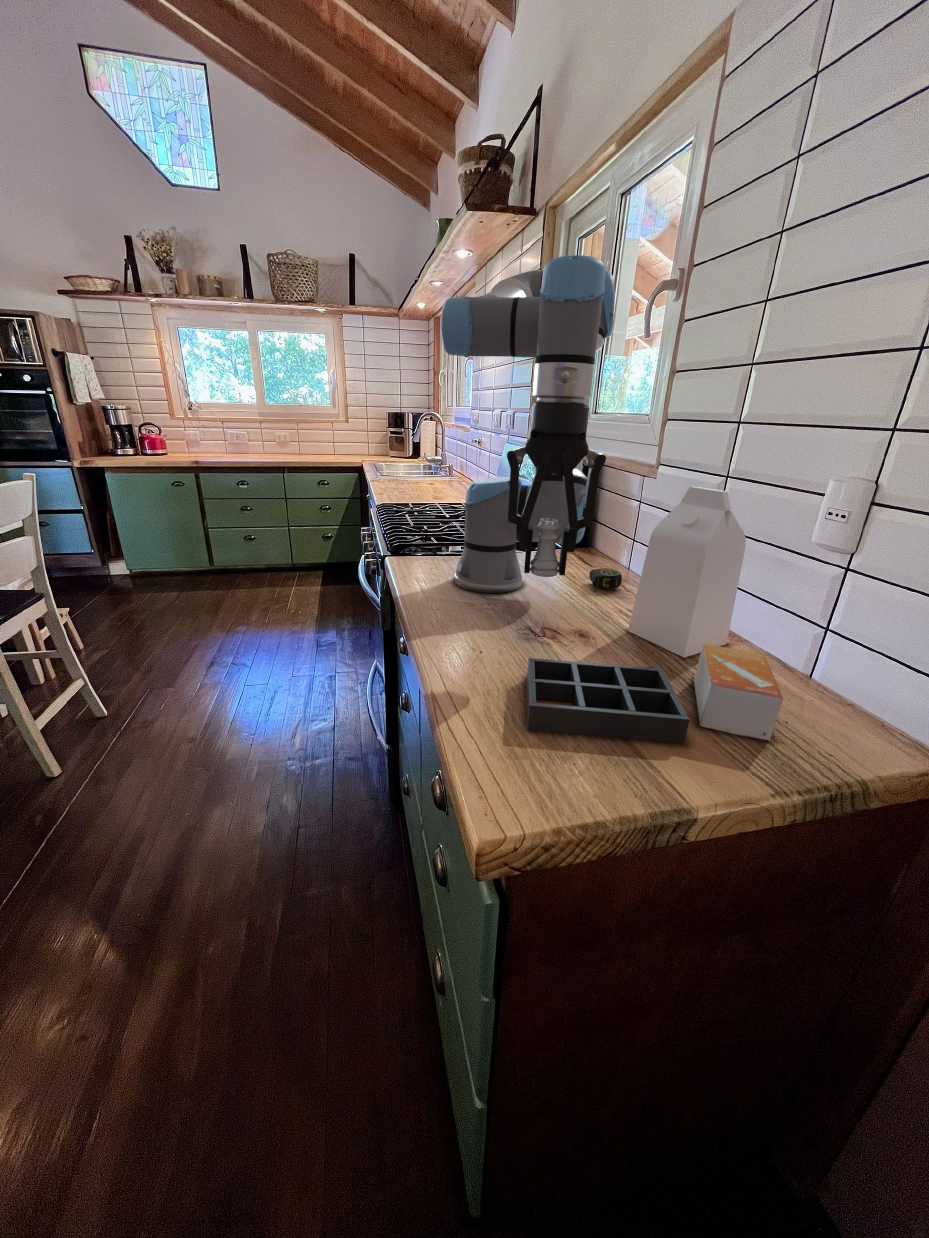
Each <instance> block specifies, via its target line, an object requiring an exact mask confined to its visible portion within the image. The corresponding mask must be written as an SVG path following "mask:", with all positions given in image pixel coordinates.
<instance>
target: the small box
mask: <svg viewBox="0 0 929 1238" xmlns="http://www.w3.org/2000/svg"><path fill="white" fill-rule="evenodd" d="M699 654H700V655H699V659H698V663H697V666H696V671H695V675H694V679H693V683H694V692H695V697H696V705H697V712H698V720H699V726H700V727H703V728H705V729H711V730H715V731H720V732H723V733H729V734H732V735H737V736H743V737H748V738H754V739H760V740H765V741H771V738H772V735H773V731H774V728H775V725H776V722H777V718H778V715H779V713H780V709H781V707H782V703H783V700H784V697H783V695H782V692H781V690H780V687H779V686H778V683H777V680H776V678H775V676H774V674H773V671H772V669H771V667H770V664H769V663H768V660H767V658H766V655H765V653H763V652H756V651H749V650H742V649H735V648H729V647H726V646H725V647H724V646H713V645H707V644H703V646H702V650H701V652H700V653H699Z"/></svg>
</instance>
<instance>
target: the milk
mask: <svg viewBox="0 0 929 1238" xmlns="http://www.w3.org/2000/svg"><path fill="white" fill-rule="evenodd" d="M731 509H732V507H731V503H730V495H729V491H728V490H721V489H714V488H708V487H703V486H702V487H701V486H694V485H693V486H689V487H688V489H687V490H686V492H685V493H684V495H683V497H682V499H681V500H680V503H678V504H677V505H676V506H675V507H674V508H673V509H672V510H671V511H670V512H668V514H667V515H666V516H664V517H663V519H662V520H661V521H660V522H659V523H658V524H657V525H656V526H655V528H654V529H653V530H652V532H651V534H650V537H649V541H648V545H647V549H646V554H645V558H644V561H643V566H642V570H641V575H640V578H639V582H638V586H637V591H636V596H635V600H634V603H633V607H632V612H631V617H630V620H629V625H628V627H627V628H628V629H627V632H628V633H631V634H634V635H636V636H637V637H640V638H642V639H644V640H646V641H647V642H650V643H652V644H654V645H656V646H658V647H660V648H663V649H665V650H667V651H669V652H671V653H673V654H675V655H677V656H680V657H682V658H684V659H685V658H688V657H691V656H695V655H697V654H701V650H702V646H703V644H707V645H713V646H719V647H723V646H725V645H727V643H728V640H729V633H730V628H731V622H732V618H733V612H734V607H735V603H736V598H737V593H738V587H739V584H740V583H739V582H740V578H741V572H742V566H743V561H744V557H745V551H746V546H747V538H746V535H745V532H744V530H743V529H742V527H741V525H740V523H739V522H738V520H737V518H736V517H735V515H734V513H733V511H731Z"/></svg>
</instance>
